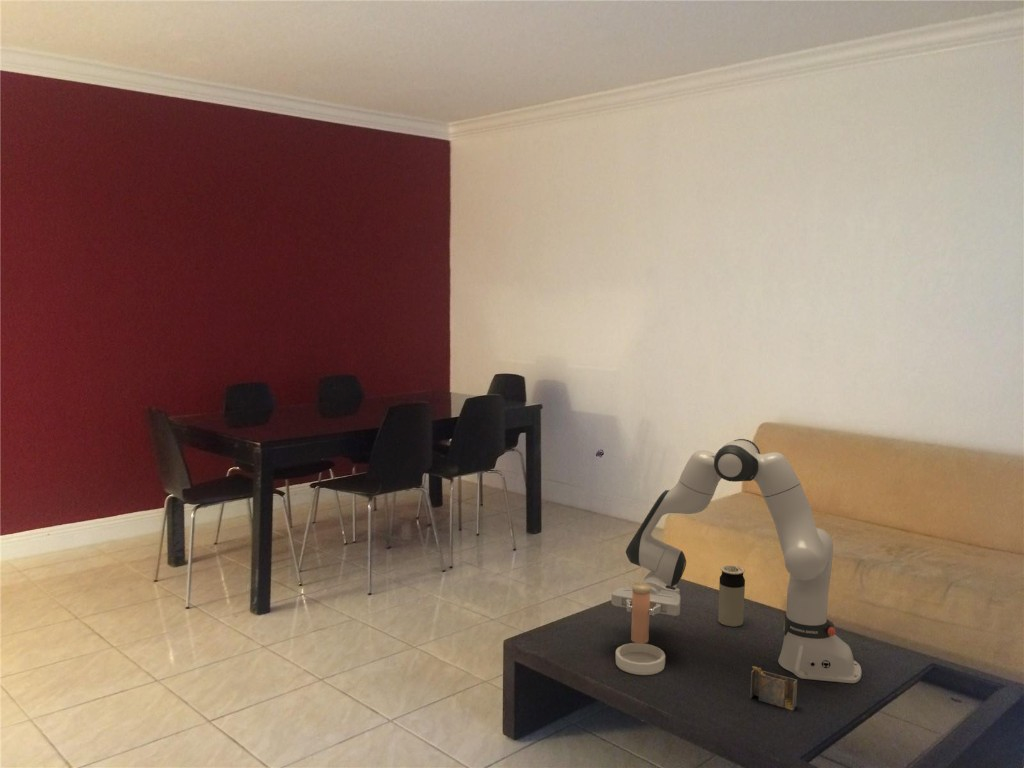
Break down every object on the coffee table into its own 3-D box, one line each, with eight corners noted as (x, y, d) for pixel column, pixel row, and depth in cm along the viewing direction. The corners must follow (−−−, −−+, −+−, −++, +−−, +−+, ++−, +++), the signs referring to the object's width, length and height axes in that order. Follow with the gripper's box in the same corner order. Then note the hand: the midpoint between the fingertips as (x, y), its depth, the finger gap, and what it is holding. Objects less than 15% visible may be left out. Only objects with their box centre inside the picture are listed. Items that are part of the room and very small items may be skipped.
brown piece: (749, 700, 221) (750, 665, 220) (753, 695, 224) (754, 661, 223) (792, 712, 215) (794, 676, 214) (795, 707, 218) (797, 672, 216)
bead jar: (650, 637, 242) (652, 584, 240) (646, 644, 237) (648, 590, 235) (633, 634, 244) (634, 581, 242) (628, 641, 239) (630, 587, 237)
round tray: (669, 658, 245) (669, 647, 245) (658, 678, 232) (658, 667, 232) (622, 649, 250) (623, 639, 250) (610, 669, 237) (610, 659, 237)
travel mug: (719, 626, 268) (721, 572, 266) (716, 616, 276) (718, 564, 273) (744, 628, 267) (747, 573, 265) (741, 618, 275) (743, 565, 272)
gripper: (618, 579, 255) (605, 594, 242) (684, 589, 247) (675, 606, 234) (617, 599, 256) (604, 615, 243) (684, 609, 248) (674, 627, 235)
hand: (640, 611), depth 239 cm, fingers closed on bead jar, 5 cm apart
